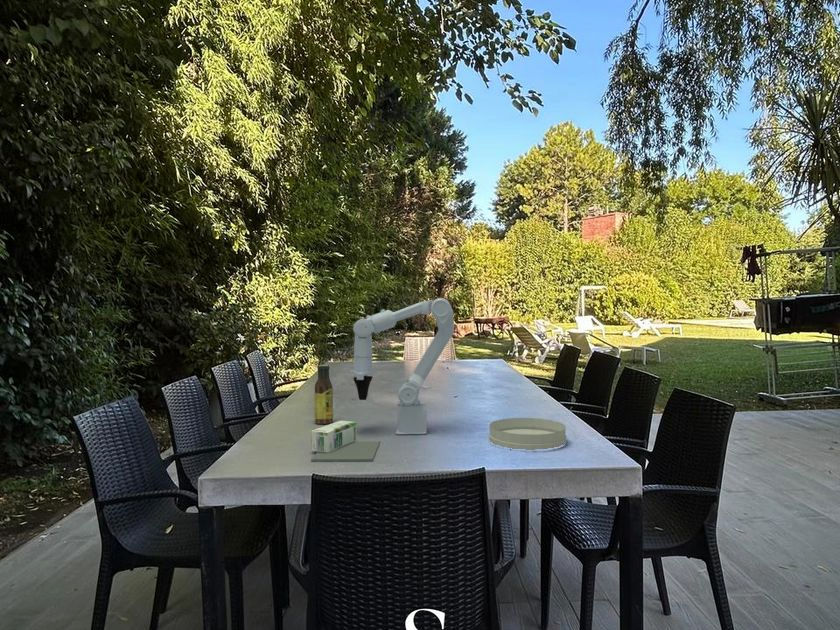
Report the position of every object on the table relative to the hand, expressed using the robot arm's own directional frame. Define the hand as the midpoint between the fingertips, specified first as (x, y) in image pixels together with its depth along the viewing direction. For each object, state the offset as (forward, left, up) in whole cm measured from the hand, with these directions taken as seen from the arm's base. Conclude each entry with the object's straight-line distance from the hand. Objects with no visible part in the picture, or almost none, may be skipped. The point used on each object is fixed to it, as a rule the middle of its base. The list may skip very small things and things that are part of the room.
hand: (362, 399), depth 173 cm
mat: (+1, +23, -10) cm, 25 cm away
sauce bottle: (+15, -14, -11) cm, 23 cm away
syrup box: (+3, +12, -7) cm, 14 cm away
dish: (-50, +13, -11) cm, 52 cm away
